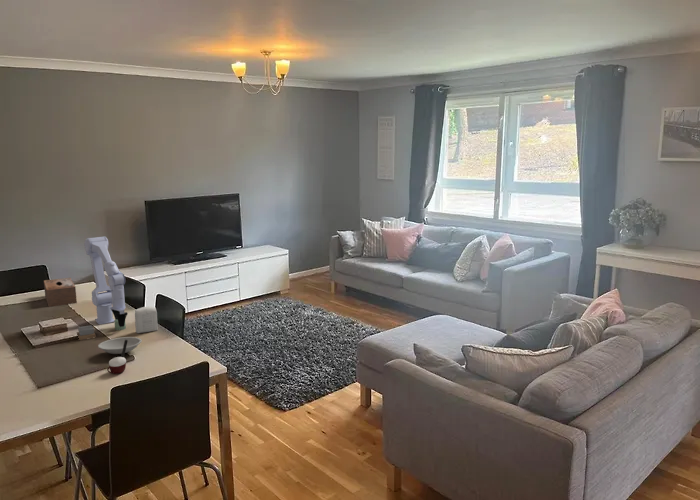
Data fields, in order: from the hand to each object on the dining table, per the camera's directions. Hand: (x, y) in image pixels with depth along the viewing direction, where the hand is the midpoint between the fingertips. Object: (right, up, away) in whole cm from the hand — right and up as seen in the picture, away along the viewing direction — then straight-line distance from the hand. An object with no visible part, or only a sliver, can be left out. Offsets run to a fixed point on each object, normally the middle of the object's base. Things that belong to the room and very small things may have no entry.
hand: (120, 324), depth 266 cm
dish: (+14, -9, -32) cm, 36 cm away
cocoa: (+21, -12, -51) cm, 56 cm away
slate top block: (-11, -2, -12) cm, 16 cm away
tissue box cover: (-57, +7, +50) cm, 76 cm away
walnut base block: (-11, -5, -12) cm, 17 cm away
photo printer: (+14, -3, -3) cm, 15 cm away
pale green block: (0, -2, +1) cm, 2 cm away
